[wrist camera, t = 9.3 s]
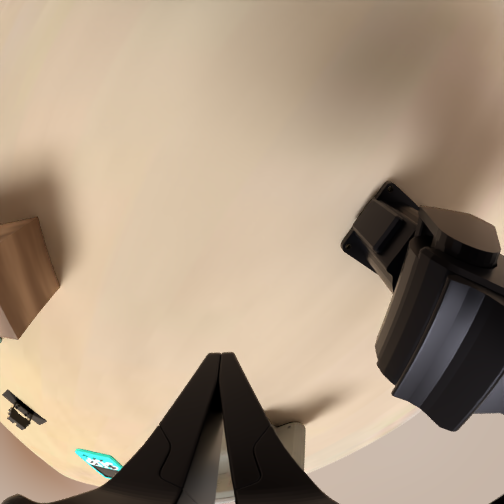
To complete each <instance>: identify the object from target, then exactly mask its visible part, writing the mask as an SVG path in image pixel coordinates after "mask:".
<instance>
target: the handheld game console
mask: <svg viewBox="0 0 504 504" xmlns="http://www.w3.org/2000/svg"><path fill="white" fill-rule="evenodd" d="M75 453H76V454H77V455H79V456H80V457H81V458H82V459H83V460H84V461H85V462H87V463H88V464H89V465H90V466H91V467H93V468H94V469H95V470H96V471H97V472H99V473H100V474H101V475H102V476H104V477H106V478H110V479H111V478H112V477H113V476H114V475H115V474H116V473H117V472H118V471H119V470H120V469H121V468H122V466H121V465H120V464H119V463H118V462H117V461H116V460H115V459H114V458H113V457H112V456H110V455H106V454H101V453H96V452H92V451H88V450H83V449H76V451H75Z"/></svg>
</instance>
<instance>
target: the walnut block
mask: <svg viewBox="0 0 504 504" xmlns="http://www.w3.org/2000/svg"><path fill="white" fill-rule="evenodd" d="M59 288H60V285H59V283H58V280H57V277H56V275H55V272H54V269H53V266H52V263H51V260H50V257H49V254H48V251H47V248H46V245H45V241H44V238H43V235H42V231H41V227H40V224H39V220H38V217H35V218H30V219H25V220H20V221H15V222H11V223H6V224H2V225H0V337H5V338H10V339H16V340H18V339H19V338H20V337H21V335H22V334H23V333H24V331H25V330H26V329H27V327H28V326H29V325H30V323H31V322H32V321H33V319H34V318H35V317H36V316H37V314H38V313H39V312H40V311H41V309H42V308H43V307H44V306H45V304H46V303H47V302H48V301H49V299H50V298H51V297H52V296H53V295H54V293H55V292H56V291H57V290H58V289H59Z"/></svg>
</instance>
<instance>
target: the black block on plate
mask: <svg viewBox="0 0 504 504" xmlns="http://www.w3.org/2000/svg"><path fill="white" fill-rule="evenodd" d="M2 395H3V396H4V397H5V398H6V399H7V400H9V401H10V402H11V403H12V404H13V405H12V406H11V408H10V409H9V410H8V411H9V412H8V414H9V415H8V417H7V419H9V420H10V421H11V422H12V423H17V424H16V426H17V427H19V428H20V429H21V430H23V429H26V427H27V426H29V424H30V421H31V419H32V420H33V421H34V422H36V423H37V424H38V425H41V424H43V423H45V422H47V421H46V420H45V419H44V418H42V417H41V416H40V415H38V414H37V413H36V412H34V411H33V410H32V409H30V408H29V407H28V406H27V405H26V404H24V403H23V402H22V401H21V400H19V399H18V398H17V397H16V396H15V395H14V394H12V393H11V392H10V391H9V390H7V391H6V392H5V393H3V394H2ZM14 407H15V408H16V409H18V410H19V411H20V412H22V413H23V414H24V415H25V416H27V417H28V418H27V419H26V418H24V417H22V416H21V415H20V414H19V413H17V411H16V410H15V409H14Z"/></svg>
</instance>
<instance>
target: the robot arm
mask: <svg viewBox="0 0 504 504" xmlns="http://www.w3.org/2000/svg"><path fill="white" fill-rule="evenodd" d="M389 186H391V190H390V191H388V187H389ZM347 244H350V245H349V247H347V248H346V247H345V246H346V245H347ZM341 248H342V250H343V251H344V252H345V253H347V254H348V255H350V256H351V257H353V258H354V259H356V260H357V261H359V262H360V263H362V264H363V265H365V266H366V267H368V268H369V269H371V270H372V271H373V272H375V273H376V274H378V275H379V276H380V278H381V279H382V280H383V281H384V283H385V284H386V285H387V287H388V288H389V289H390V291H391V292H392V293H393V296H392V299H391V302H390V305H389V308H388V310H387V313H386V316H385V318H384V321H383V324H382V326H381V329H380V331H379V334H378V336H377V340H376V344H375V349H376V354H377V358H378V362H377V366H378V368H379V369H380V371H381V372H382V374H383V375H384V376H385V377H386V378H387V379H388V380H389V381H390V382H391V383H393V384H394V385H395V388H394V389H393V391H392V393H391V394H392V395H393V396H394V397H397V398H400V399H403V400H406V401H408V402H410V403H412V404H413V405H415V406H417V407H419V408H420V409H421V410H422V411H423V412H425V413H426V414H427V415H428V416H429V417H430V418H431V419H432V420H433V421H434V422H435V423H436V424H437V425H438V426H439V427H441V428H444V429H447V430H450V431H457V430H459V428H460V427H461V426H462V425H463V424H464V423H465V422H466V421H467V420H468V419H469V418H470V416H471V415H472V414H478V413H479V414H483V413H501V414H503V415H504V256H503V255H501V254H500V251H501V248H500V244H499V240H498V236H497V232H496V229H495V226H493V225H492V224H490V223H488V222H486V221H484V220H482V219H480V218H478V217H475V216H473V215H471V214H468V213H463V212H457V211H452V210H446V209H440V208H434V207H428V206H422V205H420V207H418V206H417V205H416V204H415V203H414V202H413V201H412V200H411V199H410V198H409V197H408V196H407V195H406V194H405V193H403V192H402V191H401V190H400V189H399V188H398V187H397V186H396V185H395V184H393V183H392V182H386V183H385V184H384V185H383V186H382V188H381V189H380V191H379V192H378V193H377V195H376V196H375V198H374V199H372V200H371V201H370V202H369V203H368V205H367V206H366V207H365V209H364V210H363V212H362V213H361V214H360V216H359V217H358V218H357V220H356V221H355V222H354V224H353V228H352V229H351V230H350V232H349V233H348V234H347V236H346V237H345V238H344V240H343V241H342V243H341ZM159 425H160V426H157V428H156V429H155V430H154V432H153V433H152V435H151V436H150V437H149V438H148V440H147V441H146V442H145V444H144V445H143V446H142V447H141V448H140V449H139V450H138V452H137V453H136V454H135V455H134V456H133V457H132V458H131V459H130V460H129V461H128V462H127V463H126V464H125V465H124V466H123V467H122V468H121V469H120V470H119V471H118V472H117V473H116V474H115V475H114V476H113V477H112V478H111V479H110V480H109V481H108V482H107V483H105V484H104V485H102V486H101V487H99V488H97V489H94V490H91V491H88V492H85V493H82V494H79V495H76V496H73V497H69V498H66V499H62V500H59V501H55V502H51V503H37V502H34V501H32V500H30V499H28V498H26V497H24V496H22V495H20V494H16V495H13V496H11V497H9V498H7V499H5V500H4V501H3V502H2V504H215V497H216V488H217V479H218V470H219V461H220V453H221V444H222V435H223V427H224V431H225V439H226V446H227V453H228V460H229V466H230V473H231V479H232V485H233V490H234V497H235V503H236V504H339V503H337V502H336V501H334V500H332V499H331V498H329V497H328V496H327V495H326V494H325V493H323V492H322V491H321V490H320V489H319V488H318V487H317V486H316V485H315V484H314V482H313V481H312V480H311V479H310V478H309V477H308V475H307V474H306V473H305V472H304V471H303V470H302V468H301V467H300V466H299V465H298V464H297V462H296V461H295V460H294V459H293V457H292V456H291V455H290V453H289V452H288V451H287V449H286V448H285V447H284V445H283V444H282V442H281V440H280V439H279V437H278V435H277V434H276V432H275V430H274V428H273V427H272V426H271V423H270V421H269V419H268V418H267V416H266V414H265V412H264V410H263V408H262V406H261V405H260V403H259V401H258V399H257V397H256V395H255V393H254V391H253V389H252V387H251V385H250V384H249V382H248V380H247V378H246V376H245V374H244V372H243V370H242V368H241V366H240V364H239V362H238V360H237V358H236V356H235V354H234V353H233V352H223V353H222V354H221V353H209V354H208V355H207V356H206V358H205V359H204V360H203V362H202V363H201V365H200V366H199V368H198V369H197V371H196V372H195V374H194V375H193V376H192V378H191V379H190V381H189V382H188V384H187V385H186V387H185V388H184V389H183V391H182V392H181V394H180V395H179V397H178V398H177V399H176V401H175V402H174V404H173V405H172V407H171V408H170V409H169V411H168V412H167V414H166V415H165V416H164V418H163V419H162V421H161V422H160V424H159ZM489 504H504V494H503V495H501V496H500V497H498V498H497V499H495V500H494V501H492V502H491V503H489Z"/></svg>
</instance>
